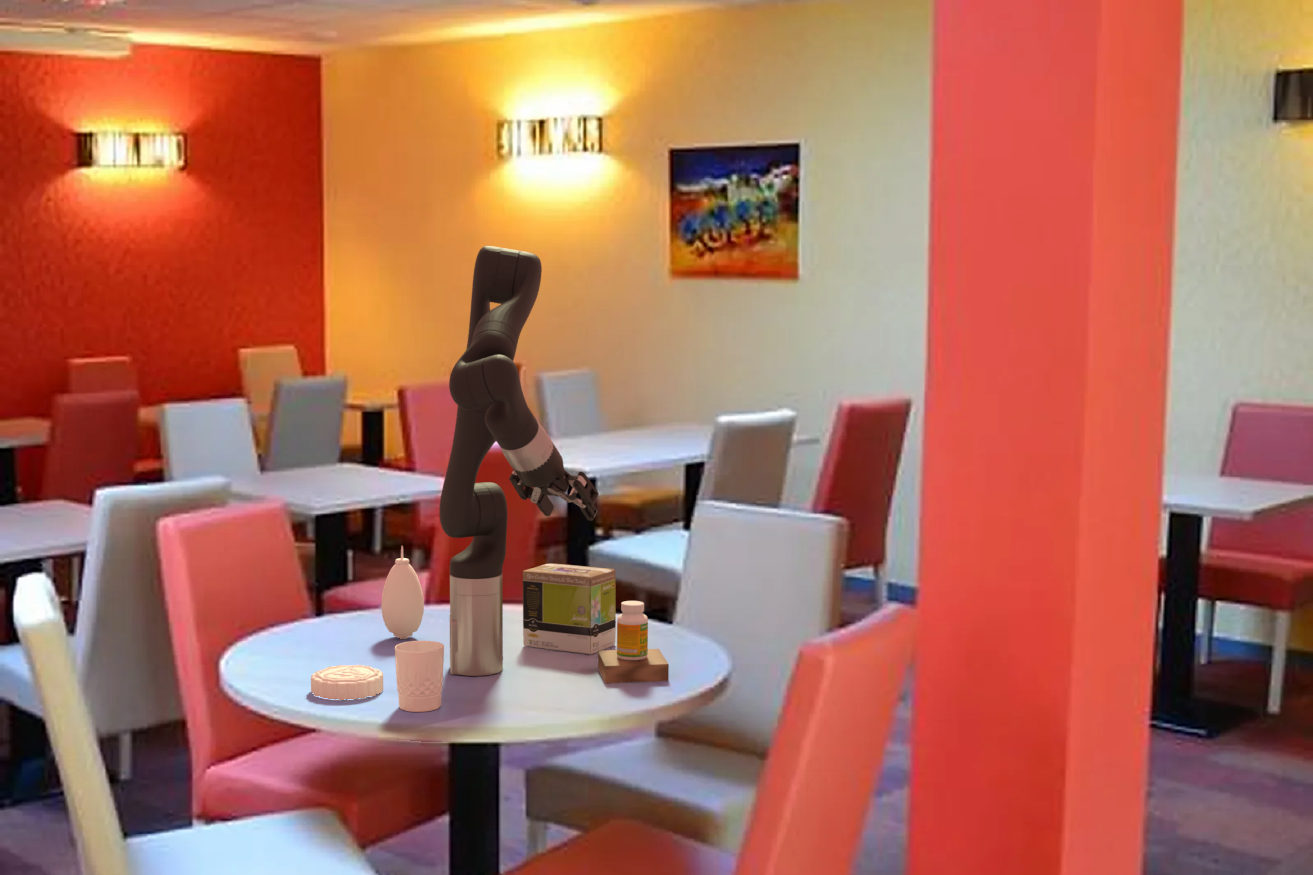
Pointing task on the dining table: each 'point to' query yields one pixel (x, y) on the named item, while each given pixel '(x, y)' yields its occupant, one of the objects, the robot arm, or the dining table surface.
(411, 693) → the peach drinking glass
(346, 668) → the mooncake
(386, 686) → the dining table surface
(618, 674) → the walnut plinth
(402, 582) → the air blower bulb
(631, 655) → the supplement bottle
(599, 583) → the tea box
